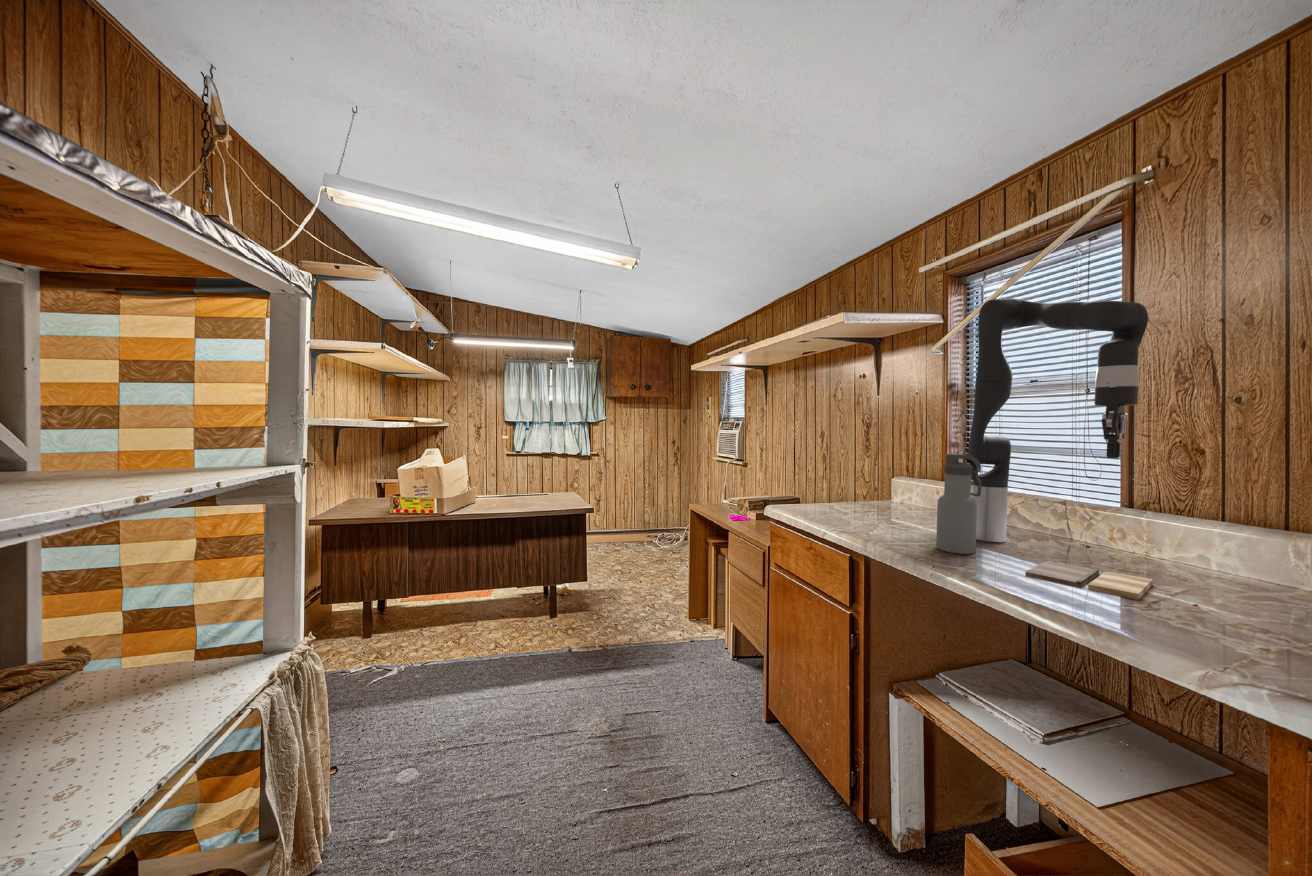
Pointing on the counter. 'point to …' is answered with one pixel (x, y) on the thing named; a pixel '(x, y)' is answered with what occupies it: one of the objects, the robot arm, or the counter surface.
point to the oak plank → (1121, 585)
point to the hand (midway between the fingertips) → (1113, 457)
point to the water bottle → (958, 506)
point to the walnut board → (1063, 573)
